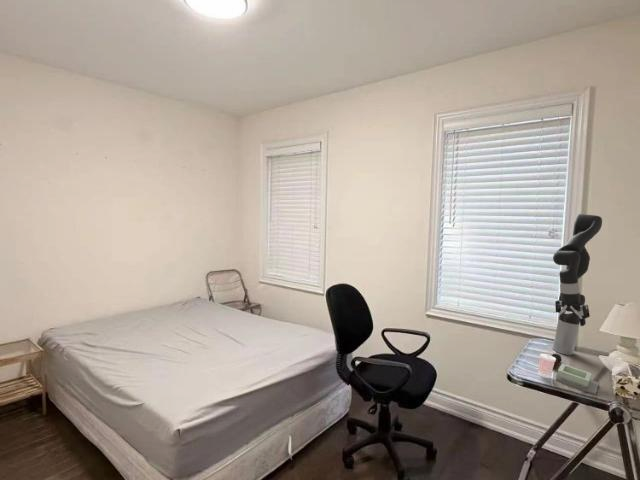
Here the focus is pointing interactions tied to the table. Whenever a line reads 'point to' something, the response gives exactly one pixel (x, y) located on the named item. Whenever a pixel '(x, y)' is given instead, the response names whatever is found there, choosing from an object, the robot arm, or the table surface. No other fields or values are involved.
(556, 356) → the bolt
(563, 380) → the pale green square tray
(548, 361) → the beverage cup
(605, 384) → the table surface
